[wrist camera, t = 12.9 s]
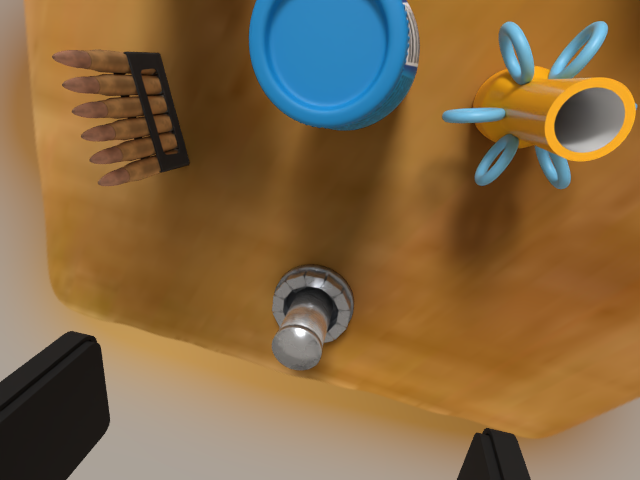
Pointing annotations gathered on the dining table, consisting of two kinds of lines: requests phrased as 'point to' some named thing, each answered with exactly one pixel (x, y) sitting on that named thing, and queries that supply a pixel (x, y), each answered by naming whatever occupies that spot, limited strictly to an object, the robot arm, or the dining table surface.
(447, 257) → the dining table surface
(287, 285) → the duct flange
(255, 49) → the blue lidded canister
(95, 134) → the ammunition clip
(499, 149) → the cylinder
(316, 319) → the silver metal cylinder
